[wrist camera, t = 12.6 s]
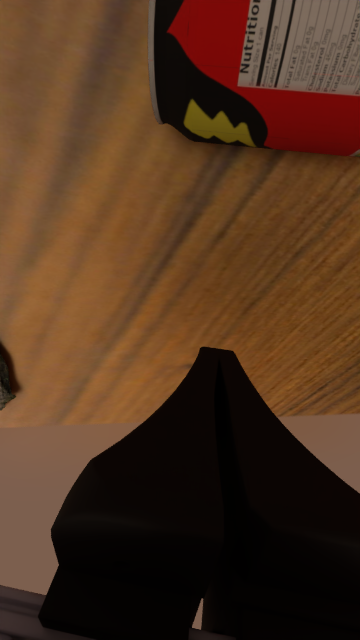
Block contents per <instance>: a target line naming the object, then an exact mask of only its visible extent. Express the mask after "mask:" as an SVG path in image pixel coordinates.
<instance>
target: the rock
mask: <svg viewBox="0 0 360 640" xmlns="http://www.w3.org/2000/svg"><path fill="white" fill-rule="evenodd" d="M15 397H16V396H15V395H13V394H12V393H11V387H10V385H9V371H8V366H7V365H6V362H5V361H4V359H3V357H2V355H1V354H0V410H2V409H3V408H4V407H5V404H6V403H7V401H10V400H12V399H14V398H15Z"/></svg>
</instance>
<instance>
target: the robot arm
mask: <svg viewBox="0 0 360 640" xmlns="http://www.w3.org/2000/svg"><path fill="white" fill-rule="evenodd" d="M51 538H52V542H53V545H54V549H55V553H56V556H57V559H58V563H59V566H58V569H57V571H56V574H55V576H54V579H53V581H52V583H51V585H50V588H49V590H48V593H47V595H42V594H38V593H33V592H29V591H24V590H19V589H15V588H11V587H6V586H2V585H0V640H360V493H358V492H357V491H356V490H354V489H353V488H352V487H350V486H349V485H348V484H347V483H345V482H344V481H343V480H342V479H340V478H339V477H338V476H337V475H336V474H335V473H333V472H332V471H331V470H330V469H329V468H328V467H326V466H325V465H324V464H323V463H322V462H321V461H320V460H318V459H317V458H316V457H315V456H314V455H313V454H312V453H311V452H310V451H309V450H308V449H306V447H305V446H304V445H303V444H302V443H300V441H298V440H297V439H296V438H295V437H294V436H293V435H292V433H291V432H290V431H289V430H288V429H287V428H286V427H285V426H284V425H283V424H282V423H281V421H280V420H279V419H278V418H277V417H276V416H275V415H274V413H273V412H272V411H271V410H270V408H269V407H268V406H267V404H266V403H265V402H264V400H263V399H262V398H261V396H260V395H259V393H258V392H257V390H256V389H255V387H254V386H253V384H252V383H251V381H250V379H249V378H248V376H247V375H246V373H245V371H244V369H243V368H242V366H241V364H240V362H239V360H238V358H237V356H236V354H235V353H234V352H233V351H230V350H224V349H217V348H210V347H204V346H203V347H201V348H200V350H199V354H198V356H197V358H196V360H195V362H194V364H193V366H192V367H191V369H190V371H189V372H188V374H187V375H186V377H185V378H184V379H183V381H182V382H181V383H180V385H179V386H178V387H177V389H176V390H175V391H174V392H173V394H172V395H171V396H170V397H169V398H168V399H167V400H166V401H165V402H164V403H163V405H162V406H161V407H159V408H158V409H157V410H156V411H155V412H154V413H153V414H152V415H151V416H150V417H149V418H148V419H147V420H146V421H144V422H143V423H142V424H141V425H139V426H138V427H137V428H136V429H134V430H133V431H132V432H131V433H129V434H128V435H127V436H125V437H124V438H123V439H121V440H120V441H119V442H117V443H116V444H114V445H113V446H111V447H110V448H108V449H107V450H105V451H104V452H102V453H100V454H99V455H97V456H96V457H94V458H93V459H92V460H90V462H89V463H88V464H87V466H86V467H85V468H84V470H83V471H82V473H81V474H80V475H79V477H78V479H77V480H76V482H75V483H74V485H73V486H72V488H71V490H70V492H69V493H68V495H67V497H66V499H65V501H64V503H63V505H62V507H61V509H60V511H59V513H58V515H57V517H56V520H55V522H54V524H53V526H52V528H51ZM202 598H203V614H202V626H201V630H199V629H195V628H192V624H193V622H194V619H195V616H196V613H197V610H198V607H199V604H200V601H201V599H202Z"/></svg>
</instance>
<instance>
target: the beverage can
mask: <svg viewBox="0 0 360 640" xmlns="http://www.w3.org/2000/svg"><path fill="white" fill-rule="evenodd" d="M148 65H149V81H150V92H151V99H152V106H153V111H154V115H155V118H156V120H157V122H158V123H159V124H165V123H167V124H170V125H172V126H173V127H175V128H176V129H177V130H178V131H179V132H181V133H182V134H183V135H184V136H186V137H187V138H188V139H190V140H192V141H194V142H205V143H215V144H226V145H236V146H247V147H257V148H268V149H278V150H289V151H299V152H310V153H320V154H331V155H341V156H351V157H360V0H149V16H148Z"/></svg>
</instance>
